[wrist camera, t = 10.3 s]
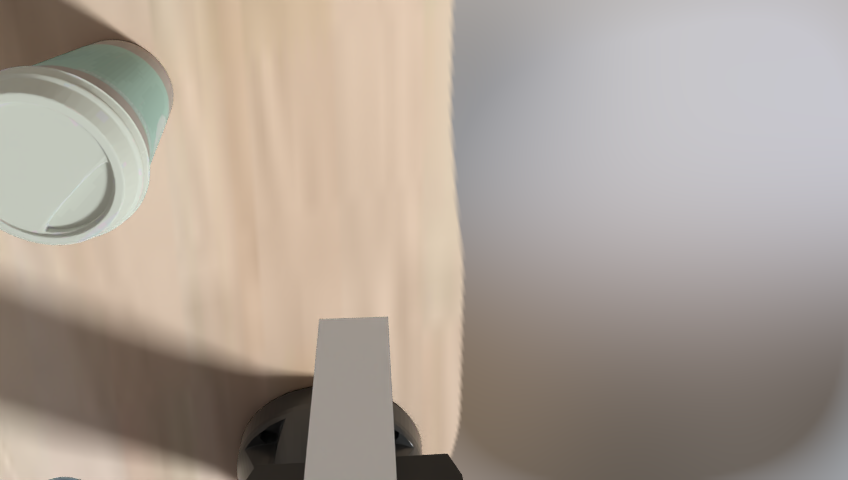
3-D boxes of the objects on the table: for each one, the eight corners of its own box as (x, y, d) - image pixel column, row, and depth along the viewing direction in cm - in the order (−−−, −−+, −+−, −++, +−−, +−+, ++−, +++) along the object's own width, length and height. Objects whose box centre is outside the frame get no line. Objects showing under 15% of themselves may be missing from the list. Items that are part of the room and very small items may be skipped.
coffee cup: (86, 166, 42) (-6, 270, 32) (19, 31, 38) (-112, 102, 28) (217, 139, 42) (166, 236, 32) (165, 0, 38) (87, 60, 27)
